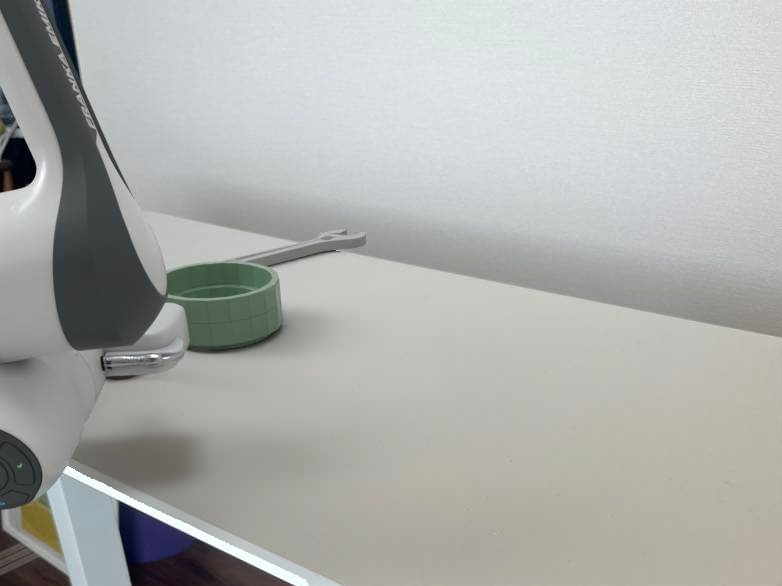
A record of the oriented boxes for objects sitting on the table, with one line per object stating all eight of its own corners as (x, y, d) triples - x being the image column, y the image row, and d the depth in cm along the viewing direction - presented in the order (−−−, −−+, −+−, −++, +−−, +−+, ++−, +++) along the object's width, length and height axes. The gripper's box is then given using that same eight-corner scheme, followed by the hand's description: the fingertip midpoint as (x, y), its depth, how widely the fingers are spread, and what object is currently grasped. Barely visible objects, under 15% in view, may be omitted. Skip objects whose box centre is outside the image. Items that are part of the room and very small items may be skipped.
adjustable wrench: (226, 277, 115) (225, 264, 114) (206, 267, 119) (204, 254, 118) (371, 245, 127) (371, 233, 126) (348, 237, 131) (348, 225, 130)
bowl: (157, 358, 90) (147, 305, 87) (159, 314, 102) (150, 265, 99) (289, 346, 93) (284, 294, 90) (276, 304, 105) (272, 257, 101)
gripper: (174, 322, 61) (191, 267, 73) (-113, 335, 59) (-50, 277, 71) (188, 399, 65) (202, 336, 76) (-83, 414, 63) (-27, 347, 74)
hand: (79, 308), depth 73 cm, fingers open, 8 cm apart
